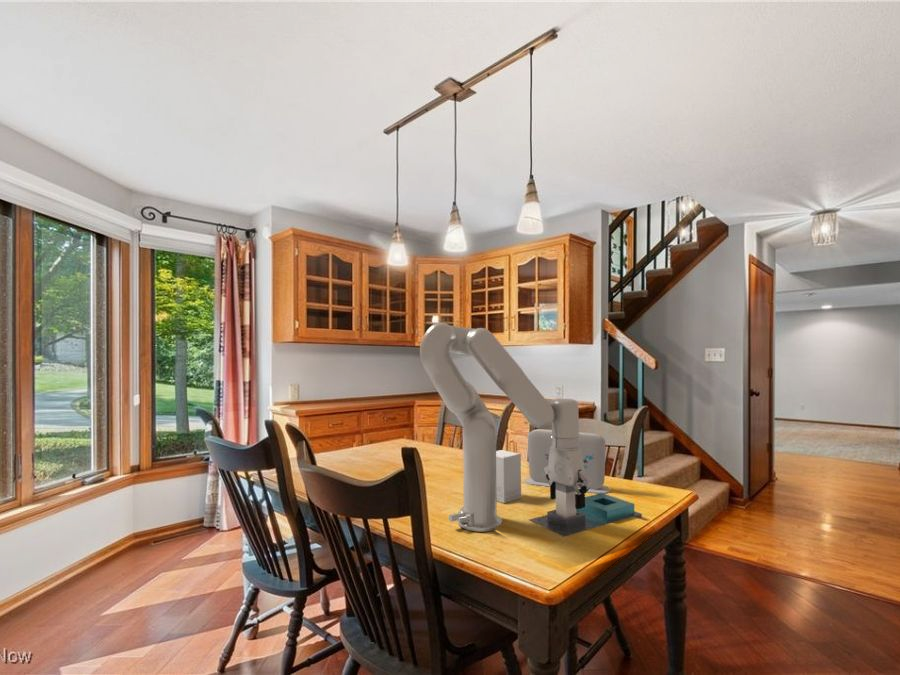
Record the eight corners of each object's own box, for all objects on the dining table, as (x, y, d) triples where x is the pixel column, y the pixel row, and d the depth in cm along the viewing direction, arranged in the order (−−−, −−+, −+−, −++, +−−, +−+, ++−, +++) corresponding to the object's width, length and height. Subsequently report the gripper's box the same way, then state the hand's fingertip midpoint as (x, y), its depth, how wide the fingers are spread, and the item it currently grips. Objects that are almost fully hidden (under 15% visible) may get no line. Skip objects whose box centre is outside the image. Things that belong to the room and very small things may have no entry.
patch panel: (563, 540, 119) (563, 525, 119) (528, 523, 131) (528, 509, 131) (641, 517, 136) (641, 503, 136) (603, 503, 148) (603, 491, 148)
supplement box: (522, 498, 154) (521, 453, 154) (504, 504, 148) (504, 457, 148) (502, 491, 161) (502, 449, 161) (484, 497, 155) (484, 453, 155)
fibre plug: (566, 525, 127) (565, 475, 127) (555, 521, 130) (555, 471, 130) (576, 522, 129) (575, 473, 129) (566, 518, 132) (565, 469, 133)
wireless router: (520, 483, 171) (520, 430, 171) (528, 477, 179) (528, 426, 180) (607, 495, 156) (606, 437, 157) (612, 488, 165) (611, 432, 166)
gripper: (535, 439, 135) (536, 497, 135) (579, 449, 121) (581, 514, 120) (553, 436, 139) (555, 493, 139) (598, 446, 125) (600, 509, 124)
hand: (567, 503), depth 130 cm, fingers open, 9 cm apart
